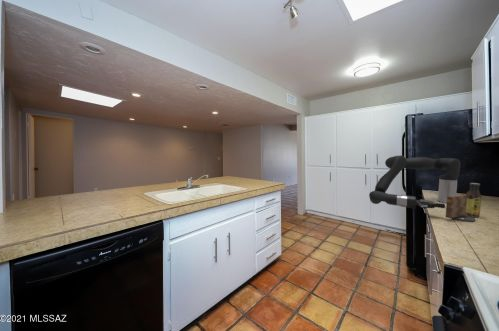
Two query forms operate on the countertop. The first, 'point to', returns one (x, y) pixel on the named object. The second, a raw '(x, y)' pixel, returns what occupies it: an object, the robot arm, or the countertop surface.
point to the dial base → (465, 219)
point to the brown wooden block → (456, 206)
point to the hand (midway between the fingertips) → (444, 206)
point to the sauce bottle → (473, 200)
